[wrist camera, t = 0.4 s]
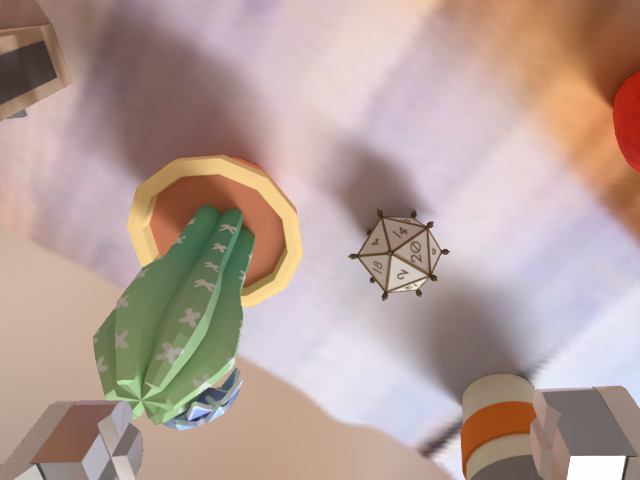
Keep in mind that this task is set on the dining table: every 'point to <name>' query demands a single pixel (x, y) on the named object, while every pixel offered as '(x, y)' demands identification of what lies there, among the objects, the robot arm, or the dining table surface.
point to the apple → (628, 120)
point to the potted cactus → (195, 286)
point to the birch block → (29, 67)
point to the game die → (400, 254)
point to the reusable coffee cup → (498, 429)
